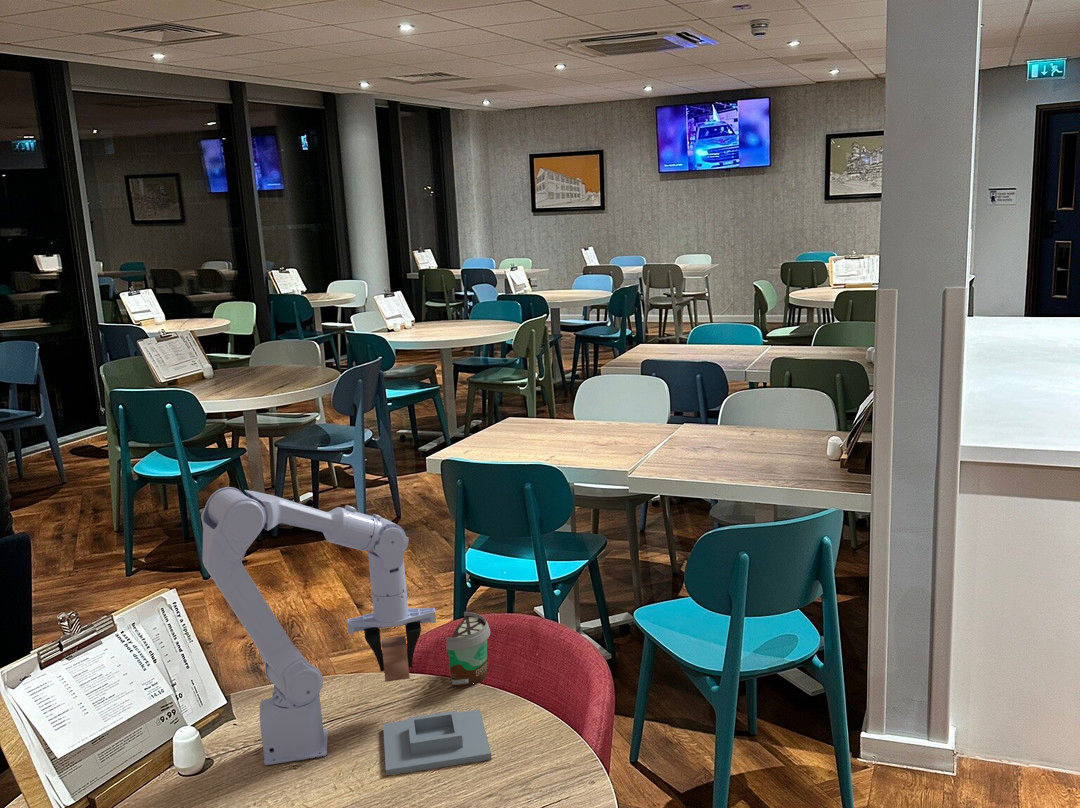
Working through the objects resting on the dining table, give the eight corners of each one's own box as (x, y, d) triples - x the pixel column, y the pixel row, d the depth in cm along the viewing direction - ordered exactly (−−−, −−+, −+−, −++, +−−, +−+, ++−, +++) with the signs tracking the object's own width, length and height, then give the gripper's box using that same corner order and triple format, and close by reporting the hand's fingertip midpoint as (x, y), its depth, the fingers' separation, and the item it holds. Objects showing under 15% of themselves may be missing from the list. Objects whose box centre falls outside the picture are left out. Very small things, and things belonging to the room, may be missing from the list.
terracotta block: (385, 681, 159) (382, 648, 158) (384, 671, 163) (381, 638, 161) (409, 678, 159) (406, 644, 158) (408, 668, 163) (405, 635, 162)
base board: (386, 776, 143) (384, 757, 143) (383, 729, 157) (382, 712, 156) (491, 759, 146) (490, 741, 146) (480, 714, 160) (478, 698, 159)
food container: (483, 693, 167) (479, 640, 165) (449, 692, 168) (445, 639, 166) (500, 661, 179) (496, 611, 177) (468, 660, 180) (464, 610, 178)
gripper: (431, 576, 163) (437, 650, 166) (344, 587, 161) (352, 662, 163) (434, 591, 156) (440, 668, 159) (344, 602, 154) (352, 681, 156)
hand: (396, 666), depth 161 cm, fingers closed on terracotta block, 4 cm apart
